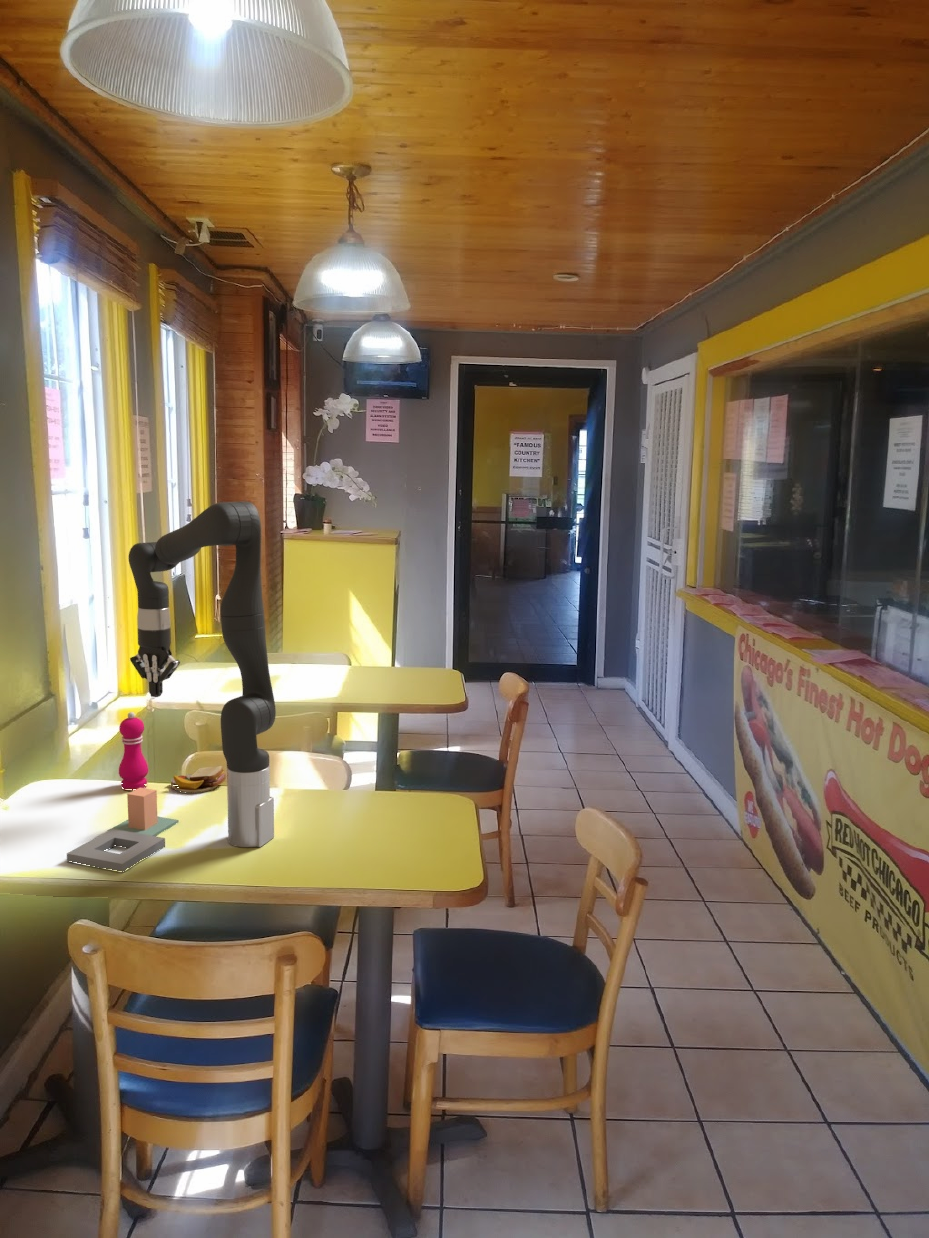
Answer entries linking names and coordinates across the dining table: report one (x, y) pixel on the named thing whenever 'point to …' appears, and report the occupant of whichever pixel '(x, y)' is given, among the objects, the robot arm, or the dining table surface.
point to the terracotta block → (142, 808)
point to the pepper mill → (132, 754)
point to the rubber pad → (152, 831)
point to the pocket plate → (97, 857)
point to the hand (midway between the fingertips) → (155, 696)
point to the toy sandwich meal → (199, 780)
